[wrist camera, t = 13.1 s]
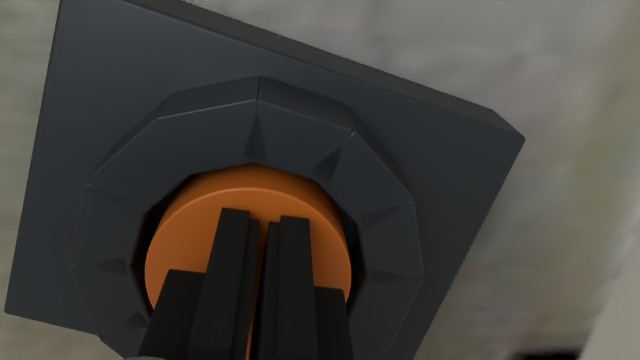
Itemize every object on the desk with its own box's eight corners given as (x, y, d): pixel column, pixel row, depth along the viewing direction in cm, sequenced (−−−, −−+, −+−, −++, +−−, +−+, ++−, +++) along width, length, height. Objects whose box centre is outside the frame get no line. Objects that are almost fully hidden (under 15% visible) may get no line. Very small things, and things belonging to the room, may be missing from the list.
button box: (494, 109, 15) (564, 168, 11) (377, 352, 18) (402, 463, 14) (97, -30, 13) (22, -15, 9) (38, 264, 16) (-37, 366, 12)
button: (370, 185, 12) (382, 223, 11) (309, 331, 14) (311, 382, 12) (188, 128, 12) (172, 160, 10) (143, 288, 13) (123, 337, 12)
